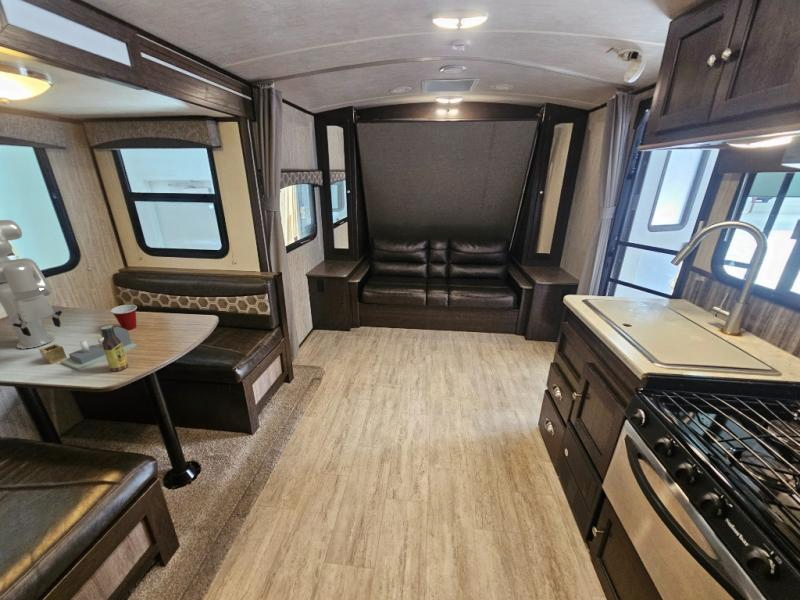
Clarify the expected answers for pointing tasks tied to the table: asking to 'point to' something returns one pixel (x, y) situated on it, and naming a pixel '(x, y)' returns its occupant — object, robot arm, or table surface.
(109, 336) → the sauce bottle
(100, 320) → the table surface
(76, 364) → the coupling rig
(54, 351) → the hollow wooden square tube
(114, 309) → the plastic cup
